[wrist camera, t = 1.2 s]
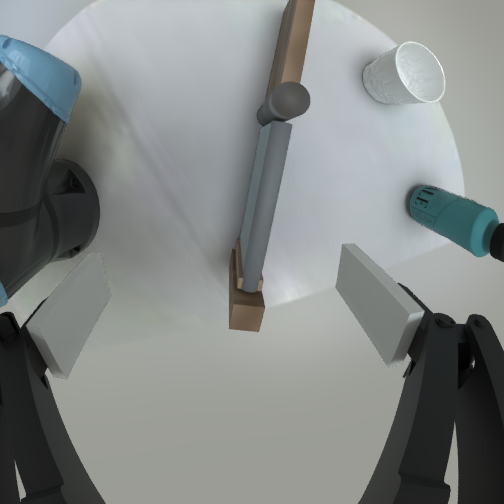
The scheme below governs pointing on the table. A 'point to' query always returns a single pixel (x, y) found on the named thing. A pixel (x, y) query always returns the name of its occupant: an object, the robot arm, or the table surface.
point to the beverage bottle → (459, 221)
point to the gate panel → (261, 204)
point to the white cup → (405, 76)
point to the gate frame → (274, 109)
